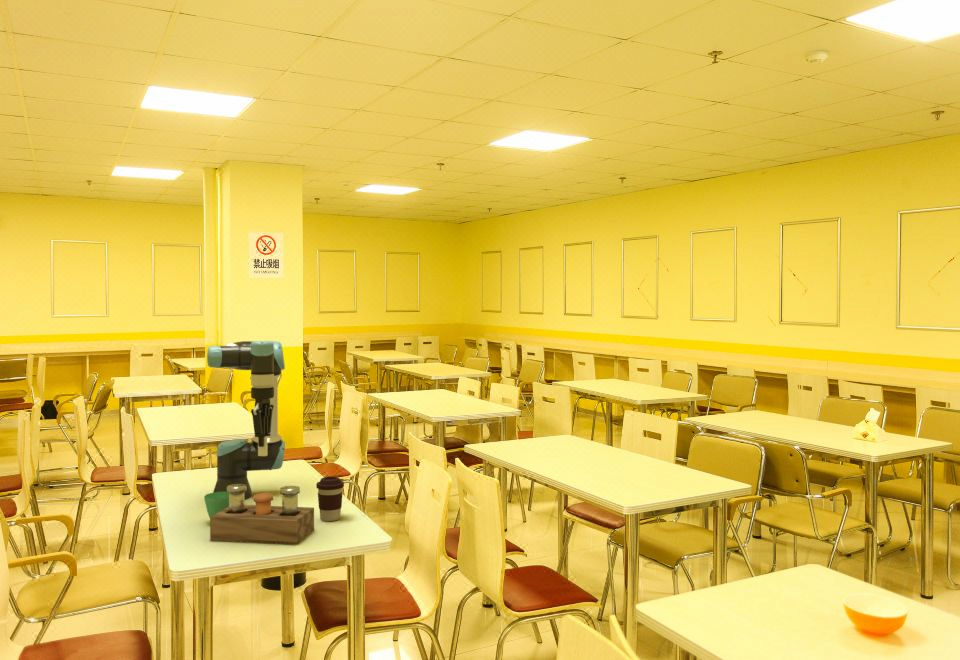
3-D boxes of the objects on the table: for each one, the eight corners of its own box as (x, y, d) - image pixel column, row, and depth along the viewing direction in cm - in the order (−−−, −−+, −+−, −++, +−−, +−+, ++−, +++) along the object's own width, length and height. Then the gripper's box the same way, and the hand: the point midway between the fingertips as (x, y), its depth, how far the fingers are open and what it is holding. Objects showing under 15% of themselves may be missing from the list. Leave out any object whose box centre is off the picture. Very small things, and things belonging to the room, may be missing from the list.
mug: (214, 528, 254) (214, 500, 253) (198, 523, 259) (198, 495, 259) (250, 518, 265) (250, 491, 265) (234, 514, 271) (234, 487, 271)
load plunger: (258, 523, 249) (258, 492, 249) (276, 523, 248) (276, 493, 248) (250, 528, 243) (250, 497, 243) (268, 529, 242) (268, 498, 242)
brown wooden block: (232, 526, 256) (232, 504, 255) (314, 530, 252) (314, 507, 252) (210, 540, 240) (210, 517, 240) (296, 545, 236) (296, 520, 236)
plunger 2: (284, 516, 248) (284, 485, 248) (302, 516, 247) (302, 486, 247) (277, 521, 242) (277, 490, 241) (295, 522, 241) (295, 490, 240)
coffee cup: (330, 524, 259) (330, 482, 258) (310, 520, 264) (310, 479, 264) (349, 517, 267) (349, 477, 267) (329, 513, 272) (329, 474, 272)
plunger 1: (232, 513, 250) (232, 483, 250) (249, 514, 250) (249, 484, 249) (223, 519, 244) (223, 488, 244) (241, 519, 243) (241, 488, 243)
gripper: (260, 384, 252) (260, 451, 252) (243, 388, 239) (243, 459, 239) (280, 384, 251) (281, 452, 251) (264, 388, 238) (265, 459, 238)
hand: (262, 455), depth 245 cm, fingers closed
